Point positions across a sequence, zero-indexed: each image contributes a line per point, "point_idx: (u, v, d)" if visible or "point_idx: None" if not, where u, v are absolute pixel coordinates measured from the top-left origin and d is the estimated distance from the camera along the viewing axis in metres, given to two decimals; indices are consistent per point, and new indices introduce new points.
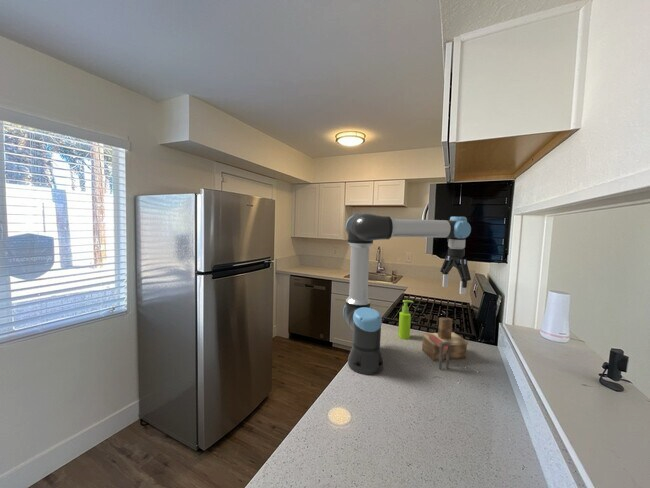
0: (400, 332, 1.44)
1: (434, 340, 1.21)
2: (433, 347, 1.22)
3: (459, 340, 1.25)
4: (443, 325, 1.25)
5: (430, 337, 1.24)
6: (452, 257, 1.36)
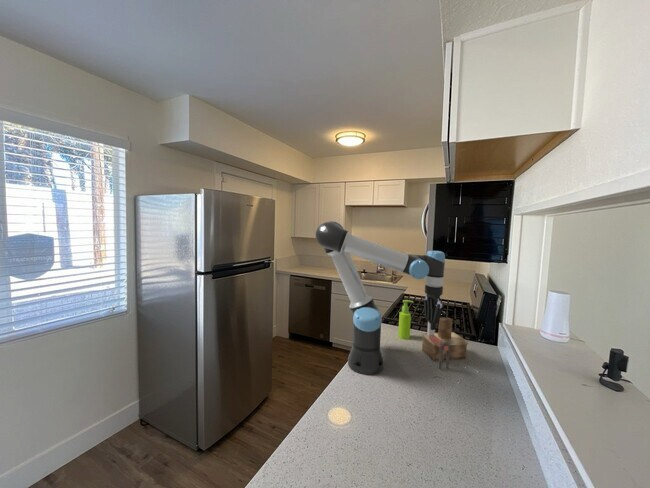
0: (400, 332, 1.44)
1: (435, 340, 1.20)
2: (433, 347, 1.22)
3: (459, 340, 1.25)
4: (443, 325, 1.25)
5: (430, 337, 1.23)
6: None
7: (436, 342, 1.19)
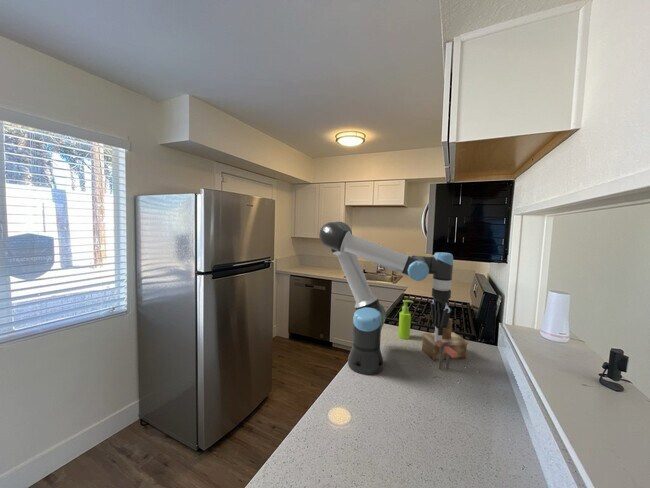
0: (400, 332, 1.44)
1: None
2: (433, 347, 1.22)
3: (459, 340, 1.25)
4: None
5: (438, 343, 1.18)
6: None
7: (444, 348, 1.14)
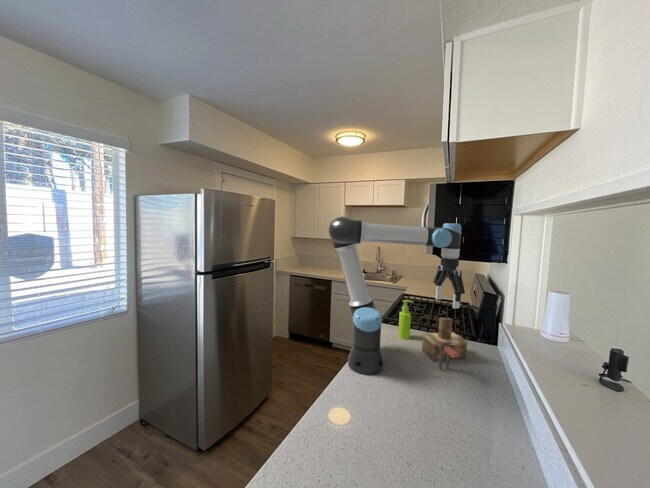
0: (400, 332, 1.44)
1: None
2: (433, 347, 1.22)
3: (459, 340, 1.25)
4: (443, 325, 1.25)
5: (438, 343, 1.18)
6: (445, 267, 1.25)
7: (444, 348, 1.14)
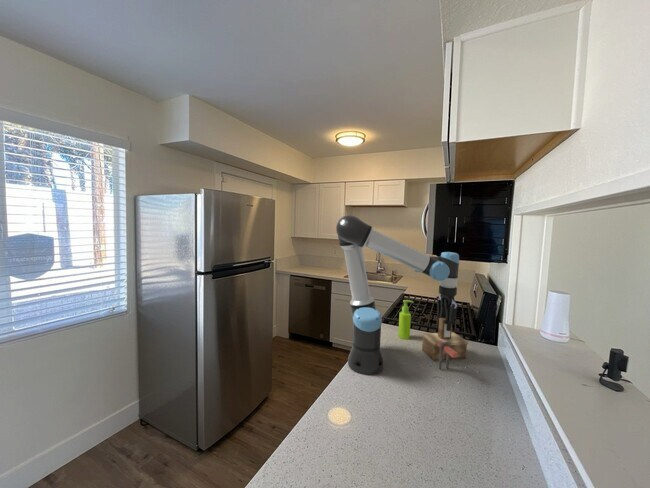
0: (400, 332, 1.44)
1: None
2: (433, 347, 1.22)
3: (459, 340, 1.25)
4: (443, 325, 1.25)
5: (438, 343, 1.18)
6: None
7: (444, 348, 1.14)
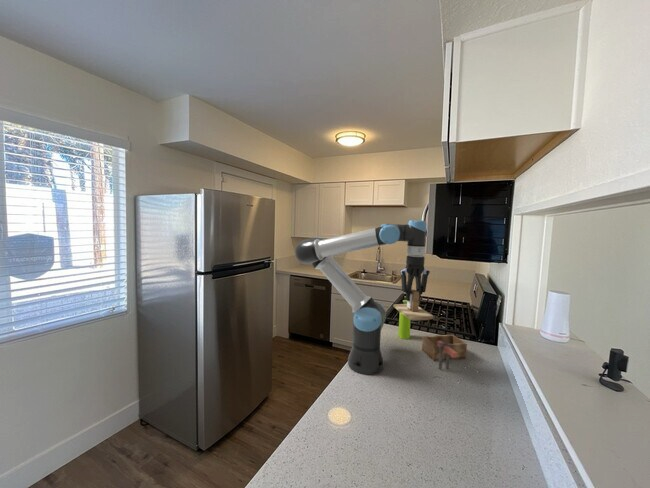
0: (400, 332, 1.44)
1: None
2: (433, 347, 1.22)
3: (410, 314, 1.16)
4: None
5: (438, 343, 1.18)
6: None
7: (444, 348, 1.14)
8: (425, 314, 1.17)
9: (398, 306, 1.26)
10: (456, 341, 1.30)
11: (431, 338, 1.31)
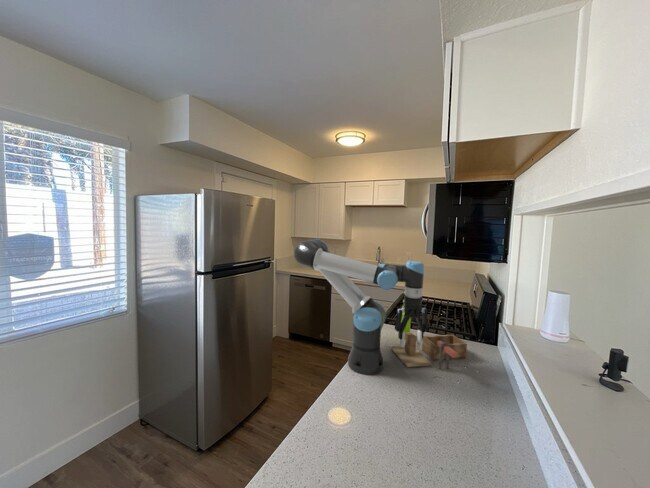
0: None
1: None
2: (433, 347, 1.22)
3: (407, 360, 1.18)
4: (406, 338, 1.25)
5: (438, 343, 1.18)
6: None
7: (444, 348, 1.14)
8: (422, 360, 1.19)
9: (396, 348, 1.28)
10: (456, 341, 1.30)
11: (431, 338, 1.31)
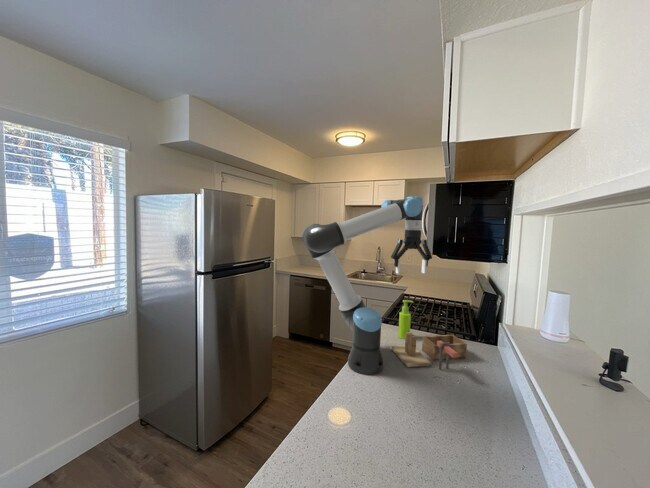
0: (400, 332, 1.44)
1: None
2: (433, 347, 1.22)
3: (407, 360, 1.18)
4: (406, 338, 1.25)
5: (438, 343, 1.18)
6: None
7: (444, 348, 1.14)
8: (422, 360, 1.19)
9: (396, 348, 1.28)
10: (456, 341, 1.30)
11: (431, 338, 1.31)
